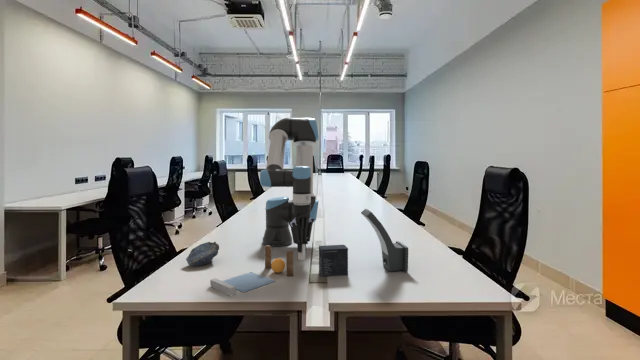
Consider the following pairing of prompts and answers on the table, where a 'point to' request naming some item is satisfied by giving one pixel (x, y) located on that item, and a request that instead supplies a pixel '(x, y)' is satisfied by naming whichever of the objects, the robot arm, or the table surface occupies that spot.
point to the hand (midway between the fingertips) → (301, 259)
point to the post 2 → (289, 263)
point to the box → (333, 260)
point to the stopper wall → (223, 286)
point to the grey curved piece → (388, 246)
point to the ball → (278, 265)
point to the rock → (203, 254)
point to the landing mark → (248, 281)
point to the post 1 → (267, 257)
